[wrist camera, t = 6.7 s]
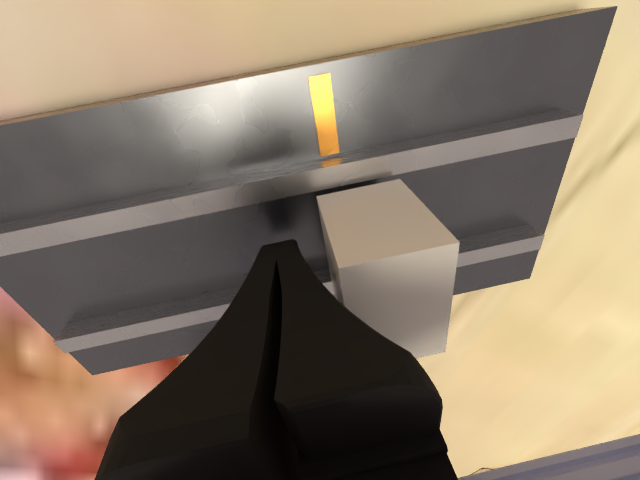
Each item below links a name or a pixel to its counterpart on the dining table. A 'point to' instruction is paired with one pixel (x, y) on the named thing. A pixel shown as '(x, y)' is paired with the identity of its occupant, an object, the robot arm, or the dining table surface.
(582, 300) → the dining table surface
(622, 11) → the dining table surface
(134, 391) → the dining table surface
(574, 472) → the robot arm
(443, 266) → the fader tab
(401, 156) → the fader console
